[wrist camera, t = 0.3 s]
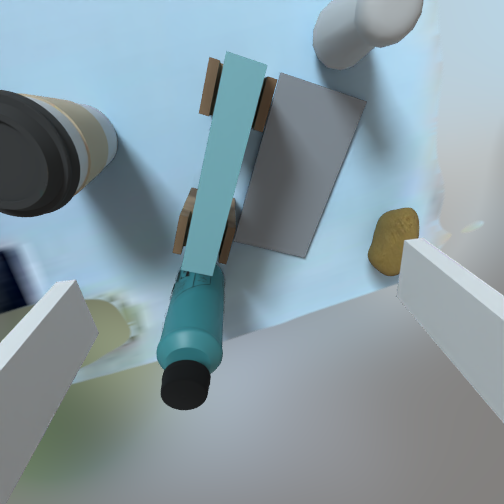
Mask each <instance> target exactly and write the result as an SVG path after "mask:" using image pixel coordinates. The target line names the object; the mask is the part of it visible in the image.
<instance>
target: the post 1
mask: <svg viewBox="0 0 504 504" xmlns="http://www.w3.org/2000/svg"><path fill="white" fill-rule="evenodd" d="M197 190H198V189H196V188H191V190H190V193H189V195H188V197H187V200H186V202H185V204H184V207H183V209H182V211H181V214H180V216H179V222H178V227H177V232H176V237H175V243H174V248H173V253H176V254H180V255H181V252H182V249H183V246H186V243H187V238H188V234H189V229H190V224H191V219H192V214H193V210H194V205H195V200H196V195H197ZM235 231H236V218H235V198H233V199H232V203H231V207H230V211H229V215H228V218H227V222H226V226H225V230H224V234H223V238H222V241H221V245H220V249H219V253H218V254H219V261H218V263H222V264H226V263H227V259H228V256H229V252H230V249H231V245H232V241H233V238H234V234H235Z"/></svg>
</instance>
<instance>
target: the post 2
mask: <svg viewBox="0 0 504 504" xmlns="http://www.w3.org/2000/svg"><path fill="white" fill-rule="evenodd" d="M223 65H224V64H222V63H220V60H217V59H214V58H211V57H209V62H208V68H207V73H206V78H205V83H204V89H203V94H202V99H201V105H200V110H199V113H200V114H203V115H206V116H209V115H212V116H213V113H214V108H215V103H216V98H217V94H218V89H219V84H220V79H221V74H222V70H223ZM276 83H277V79H274V78H271V77H266V78H264V80H263V84H262V88H261V92H260V96H259V99H258V103H257V107H256V111H255V115H254V119H253V122H252V126H251V127H252V128H253V129H254V130H257V131H260V132H263V130H264V126H265V123H266V119H267V115H268V112H269V108H270V105H271V101H272V97H273V94H274V90H275V87H276Z"/></svg>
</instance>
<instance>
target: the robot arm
mask: <svg viewBox="0 0 504 504" xmlns="http://www.w3.org/2000/svg"><path fill="white" fill-rule="evenodd" d="M396 297H397V298H398V299H399V300H400V301H401V302H402V304H403V305H404V306H405V307H406V308H407V309H408V311H409V312H410V313H411V314H412V315H413V317H414V318H415V319H416V320H417V321H418V322H419V324H420V325H421V326H422V327H423V328H424V330H425V331H426V332H427V333H428V334H429V336H430V337H431V338H432V339H433V340H434V341H435V343H436V344H437V345H438V346H439V347H440V349H441V350H442V351H443V352H444V353H445V354H446V356H447V357H448V358H449V359H450V360H451V362H452V363H453V364H454V365H455V366H456V367H457V369H458V370H459V371H460V372H461V373H462V375H463V376H464V377H465V378H466V379H467V380H468V381H469V383H470V384H471V385H472V386H473V388H474V389H475V390H476V391H477V392H478V393H479V395H480V396H481V397H482V398H483V399H484V400H485V402H486V403H487V404H488V405H489V406H490V408H491V409H492V410H493V411H494V412H495V414H496V415H497V416H498V417H499V418H500V419H501V421H502V422H503V423H504V296H503V295H502V294H500V293H499V292H498V291H496V290H495V289H493V288H492V287H491V286H489V285H488V284H486V283H485V282H484V281H482V280H481V279H480V278H478V277H477V276H475V275H474V274H473V273H471V272H470V271H468V270H467V269H466V268H464V267H463V266H462V265H460V264H459V263H457V262H456V261H455V260H453V259H452V258H450V257H449V256H448V255H446V254H445V253H443V252H442V251H441V250H439V249H438V248H437V247H435V246H434V245H432V244H431V243H430V242H428V241H427V240H425V239H424V238H418V239H410V240H404V247H403V254H402V261H401V268H400V275H399V282H398V289H397V296H396ZM98 334H99V332H98V330H97V328H96V325H95V323H94V321H93V318H92V316H91V314H90V311H89V309H88V307H87V304H86V302H85V300H84V297H83V295H82V292H81V290H80V288H79V285H78V283H77V281H76V280H69V281H61V282H56V283H55V284H54V285H53V286H52V287H51V288H50V290H49V291H48V292H47V293H46V294H45V295H44V296H43V297H42V298H41V299H40V300H39V301H38V302H37V304H36V305H35V306H34V307H33V308H32V309H31V310H30V311H29V313H27V314H26V315H25V317H24V318H23V319H22V320H21V321H20V322H19V323H18V324H17V325H16V326H15V327H14V329H13V330H12V331H11V332H10V333H9V334H8V335H7V336H6V337H5V338H4V339H3V340H2V342H1V343H0V504H6V503H7V501H8V499H9V497H10V495H11V493H12V492H13V490H14V488H15V486H16V484H17V483H18V481H19V479H20V477H21V475H22V473H23V471H24V470H25V468H26V466H27V464H28V462H29V460H30V459H31V457H32V455H33V453H34V451H35V449H36V448H37V446H38V444H39V442H40V440H41V438H42V437H43V435H44V433H45V431H46V429H47V427H48V426H49V424H50V422H51V420H52V418H53V416H54V415H55V413H56V411H57V409H58V407H59V405H60V404H61V402H62V400H63V398H64V396H65V394H66V393H67V391H68V389H69V387H70V385H71V383H72V382H73V380H74V378H75V376H76V374H77V372H78V371H79V369H80V367H81V365H82V363H83V361H84V360H85V358H86V356H87V354H88V352H89V350H90V348H91V347H92V345H93V343H94V341H95V339H96V338H97V336H98Z"/></svg>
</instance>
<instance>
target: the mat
mask: <svg viewBox="0 0 504 504" xmlns="http://www.w3.org/2000/svg"><path fill="white" fill-rule="evenodd" d="M366 102H367V101H364V100H361V99H358V98H355V97H352V96H349V95H346V94H343V93H340V92H337V91H334V90H331V89H328V88H325V87H322V86H320V85H317V84H314V83H311V82H308V81H305V80H302V79H299V78H296V77H293V76H290V75H287V74H284V73H280V76H279V80H278V83H277V87H276V90H275V94H274V98H273V101H272V105H271V108H270V112H269V115H268V119H267V123H266V126H265V130H264V133H263V137H262V141H261V144H260V148H259V151H258V155H257V158H256V162H255V166H254V169H253V173H252V176H251V180H250V184H249V187H248V191H247V194H246V198H245V201H244V205H243V209H242V212H241V216H240V219H239V223H238V227H237V230H236V234H235V237H234V242H239V243H243V244H247V245H252V246H256V247H261V248H265V249H269V250H274V251H278V252H282V253H287V254H291V255H296V256H300V257H304V258H305V255H306V253H307V250H308V248H309V245H310V243H311V240H312V238H313V235H314V233H315V230H316V228H317V225H318V223H319V220H320V218H321V215H322V213H323V210H324V208H325V205H326V203H327V200H328V198H329V195H330V193H331V190H332V187H333V185H334V182H335V180H336V177H337V175H338V172H339V170H340V167H341V165H342V162H343V160H344V157H345V155H346V152H347V150H348V147H349V145H350V142H351V140H352V137H353V135H354V132H355V130H356V127H357V125H358V122H359V120H360V117H361V115H362V112H363V110H364V107H365V105H366Z"/></svg>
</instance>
